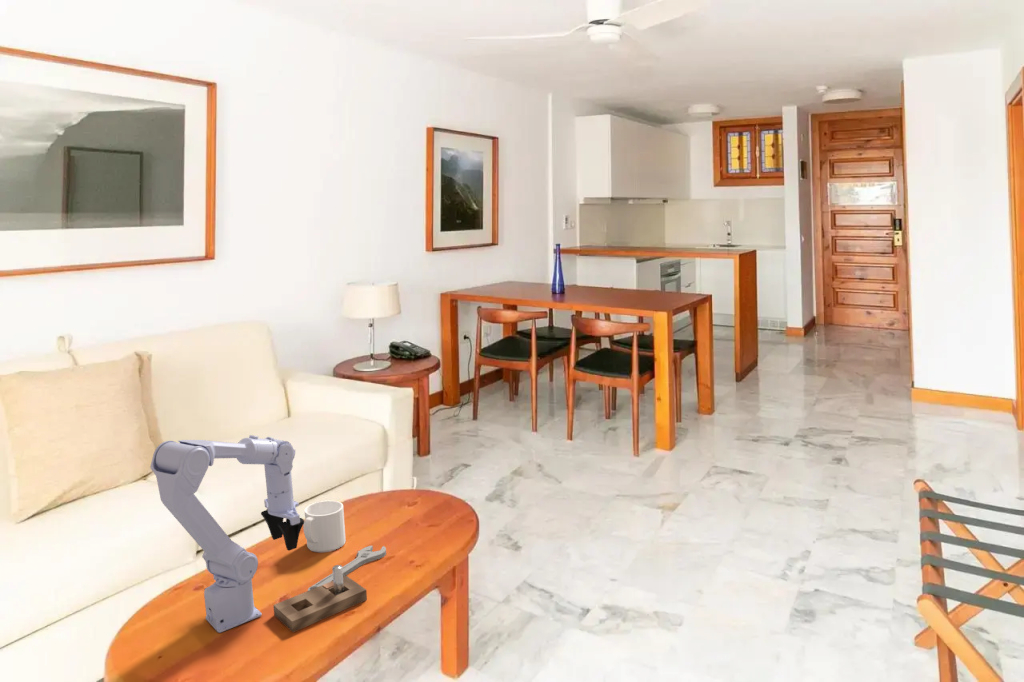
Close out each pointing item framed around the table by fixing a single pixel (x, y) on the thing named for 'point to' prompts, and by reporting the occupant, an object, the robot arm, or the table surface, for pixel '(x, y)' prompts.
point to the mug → (324, 526)
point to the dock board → (318, 604)
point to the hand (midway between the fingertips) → (284, 543)
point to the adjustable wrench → (355, 563)
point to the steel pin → (338, 579)
